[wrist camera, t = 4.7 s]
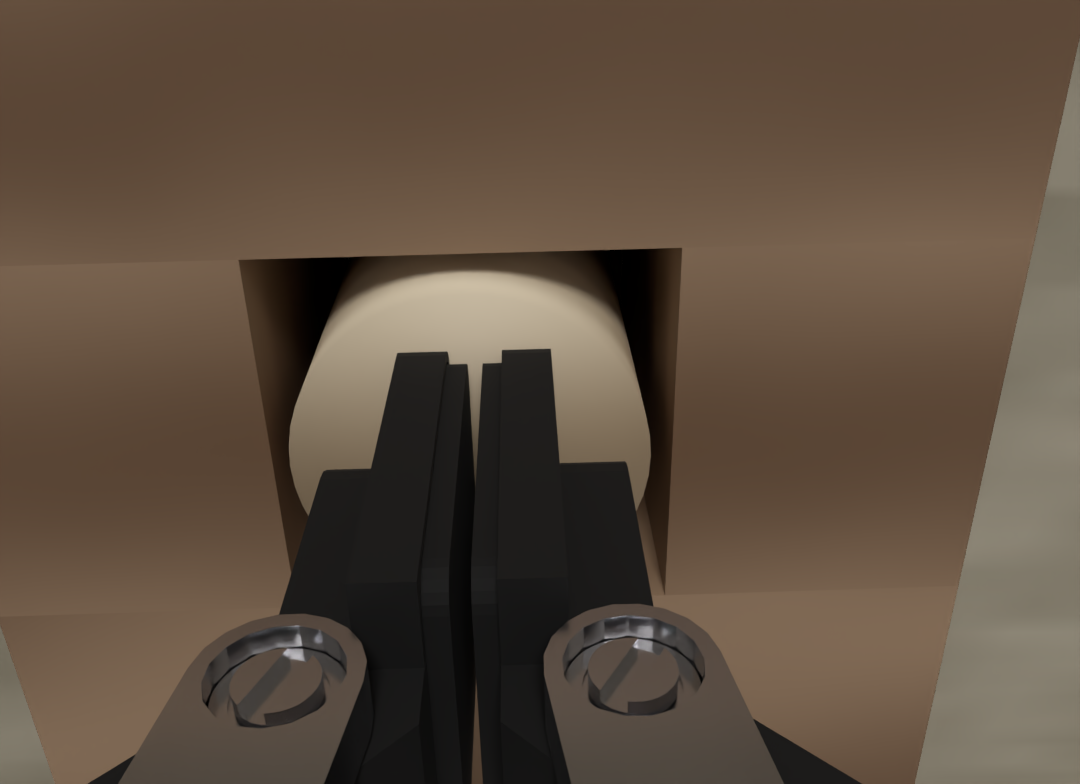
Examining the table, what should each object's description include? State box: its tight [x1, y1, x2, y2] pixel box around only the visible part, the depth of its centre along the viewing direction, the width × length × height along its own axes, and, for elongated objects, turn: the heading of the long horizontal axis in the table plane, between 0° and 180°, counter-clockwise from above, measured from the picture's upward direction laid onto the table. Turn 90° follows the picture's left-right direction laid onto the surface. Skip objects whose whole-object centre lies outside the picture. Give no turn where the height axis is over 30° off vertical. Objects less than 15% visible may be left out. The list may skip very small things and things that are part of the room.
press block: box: [0, 0, 1080, 784], centre depth 18 cm, size 28×12×6 cm, turn 1°
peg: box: [289, 250, 651, 516], centre depth 14 cm, size 4×4×6 cm
